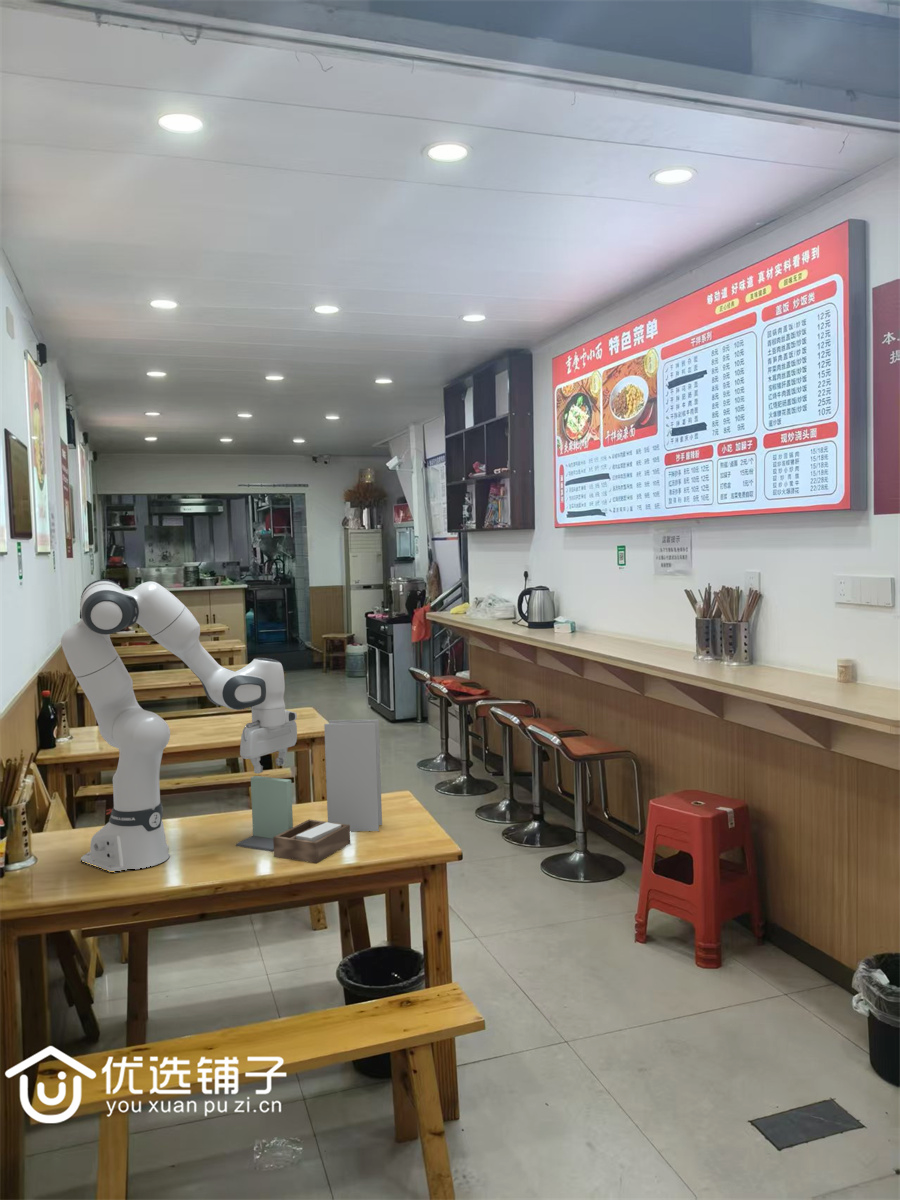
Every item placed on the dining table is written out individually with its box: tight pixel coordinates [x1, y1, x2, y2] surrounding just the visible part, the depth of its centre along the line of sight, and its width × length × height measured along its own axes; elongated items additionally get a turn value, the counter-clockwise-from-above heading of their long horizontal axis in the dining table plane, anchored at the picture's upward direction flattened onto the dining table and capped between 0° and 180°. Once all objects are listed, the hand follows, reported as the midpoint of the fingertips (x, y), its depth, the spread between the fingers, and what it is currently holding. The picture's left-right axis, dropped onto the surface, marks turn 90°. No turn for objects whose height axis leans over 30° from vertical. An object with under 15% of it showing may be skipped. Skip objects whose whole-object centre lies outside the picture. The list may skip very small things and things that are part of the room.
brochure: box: [323, 719, 383, 832], centre depth 237 cm, size 14×6×30 cm, turn 84°
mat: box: [236, 835, 274, 853], centre depth 231 cm, size 12×16×1 cm
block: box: [250, 775, 294, 838], centre depth 230 cm, size 2×12×16 cm, turn 64°
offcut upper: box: [296, 821, 341, 842], centre depth 220 cm, size 5×12×3 cm, turn 149°
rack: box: [273, 819, 351, 864], centre depth 221 cm, size 13×16×5 cm
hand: (269, 768), depth 230 cm, fingers open, 8 cm apart
